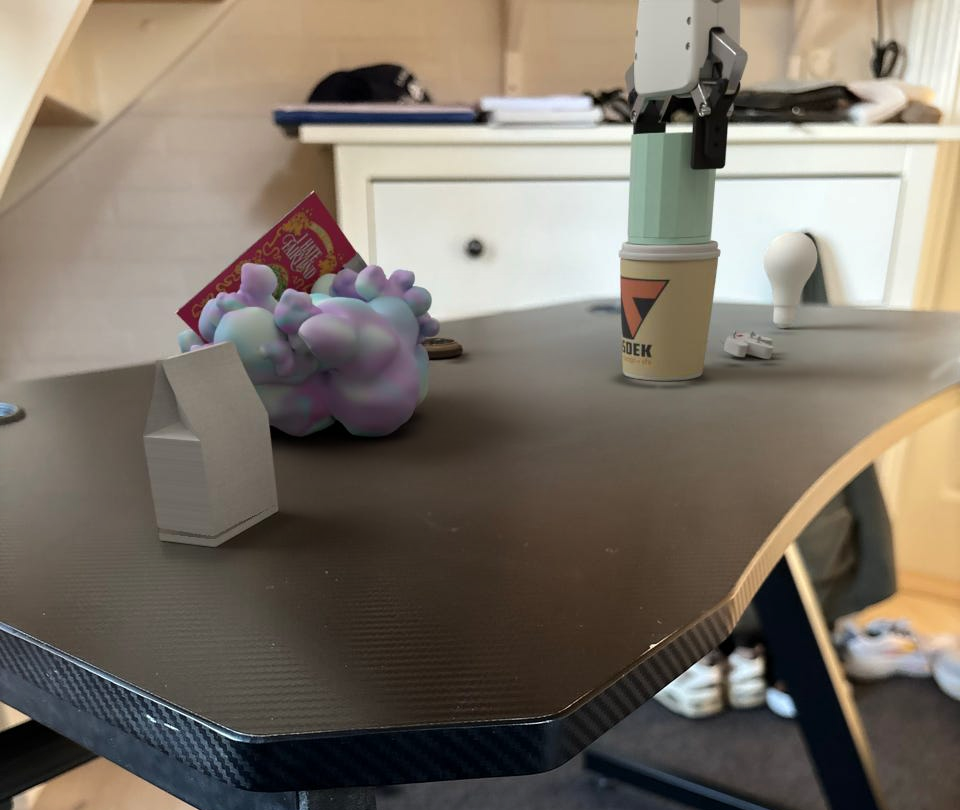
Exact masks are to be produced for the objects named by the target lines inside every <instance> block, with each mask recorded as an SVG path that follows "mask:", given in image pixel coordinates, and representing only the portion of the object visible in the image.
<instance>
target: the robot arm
mask: <svg viewBox="0 0 960 810" xmlns="http://www.w3.org/2000/svg"><path fill="white" fill-rule="evenodd" d="M637 7H638V8H637V17H636V29H635V40H634V59H633V62H632V63H631V65H630V66H629V67H628V69H627V70H626V71H625V74H624V80H625V85H626V89H627V94H628V95H627V103H628V106H629V108H630V111H631V112H630V115H629V116H630V117H629V118H630V122H631V123H632V135H633V134H648V133H667V122H666V121H665V122H664V121H663V120H662V119H663V117H664V115H665V113H666V110H667V108H668V105H669V103H670V101H671V98H672V96H674V97H676V98H679V99H683V98H684V99H685V98H692V100H693V104H694V105H695V107H696V110H697V113H698V116H693V117H692V131H691V132H692V147H691V168H692V169H693V170H701V169H716V170H722V169H724V168H725V167H726V163H727V161H726V160H727V147H728V146H727V145H728V132H729V131H728V129H729V117H731V116H732V115H733V113H734V109H735V107H734V106H735V104H734V102H735V100H736V98H737V97H738V94H739V92H740V90H741V81H742V78H743V75H744V72H745V69H746V66H747V63H748V61H749V60H748V59H749V55H748V52H747V51H746V50H745V49H744V48H743V47H741V45H740V43H741V0H638V6H637ZM653 101H655V102H653ZM662 121H663V122H662Z"/></svg>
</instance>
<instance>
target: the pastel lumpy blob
mask: <svg viewBox="0 0 960 810" xmlns="http://www.w3.org/2000/svg"><path fill="white" fill-rule="evenodd" d="M415 283H416V276H415V273H414V271H411V270H407V269H406V270H405V269H401V268H400V269H395V270H394V271H392V273H391V275H390V276H389V277H388V278H387V275H386V274H385V271H384V269H383V267H381V266H379V265H376V264H369V265H368V264H367V263H366V261H365V259H363V257H362V256H361V254H360V253H359V252H358V251H357V250H356V249H355V247H354V246H353V245H352V244H351V242H350V241H349V239H348V237H347V235H345V233H344V232H343V230H342V229H341V227H340V226H339V225H338V223H337V222H336V220H335V219H334V218H333V216H332V215H331V213H330V212H329V210H328V209H327V208H326V206H325V205H324V203H323V202H322V200H321V199H320V197H319V196H318V194H317V193H316V192H315V190H312V191H311V192H310V193H309V194H308V195H306V196H305V197H304V198H303V199H302V200H301V201H300V202H299V203H297V204H296V205H295V206H294V207H293V208H292V209H291V210H290V211H288V212H287V213H286V214H285V215H284V216H283V217H281V218H280V219H279V220H278V221H277V222H276V223H274V225H272V226H271V227H270V228H269V229H268V230H267V231H266V232H264V233H263V234H262V235H261V236H260V237H258V238H257V239H256V241H254V242H253V243H252V244H251V245H250V246H249V247H247V248H246V249H245V250H244V251H243V252H242V253H240V254H239V255H238V256H237V257H236V258H235V259H234V260H233V261H232V262H231V263H230V264H228V265H226V267H225V268H224V269H222V270H221V271H220V272H219V273H217V275H215V277H213V278H212V279H211V280H210V281H209V282H208V283H207V284H205V285H204V286H203V287H202V288H201V289H199V291H198V292H196V293H195V294H194V295H193V296H192V297H191V298H189V299H188V300H187V301H186V302H185V303H183V304H182V306H180V307H179V308H178V309H177V310H176V311H175V314H176V315H177V316H178V317H179V318H180V319H181V321H183V322H184V323H185V324H186V325H187V326H188V328H187V329H185V330H183V331H182V332H181V333H179V334H178V336H177V342H178V346H179V347H180V353H181V354H182V353H185V352H189V351H193V350H196V349H200V348H204V347H207V346H211V345H214V344H218V343H222V342H225V341H229V342H230V341H234V342H235V345H236V349H237V352H238V355H239V357H240V359H241V362H242V364H243V366H244V368H245V370H246V373H247V375H248V377H249V378H250V380H251V382H252V384H253V386H254V388H255V390H256V392H257V394H258V396H259V397H260V399H261V401H262V403H263V405H264V407H265V409H266V411H267V413H268V418H269V426H271V427H274V428H275V429H279V430H280V431H281V432H284V433H286V434H288V435H290V436H292V437H299V438H302V437H307V436H310V435H313V434H314V433H317V432H320V431H323V430H325V429H327V428H329V427H330V426H332V425H335V423H336V420H337V421H338V422H339V423H341V424H342V425H343V427H344V428H345V429H346V430H347V431H348V433H349V434H351V435H353V436H358V437H368V438H375V437H376V438H377V437H387V436H388V435H390V434H392V433H394V432H396V431H398V429H399V428H400V427H401V426H402V425H403V424H405V423H407V422H408V421H409V420H410V419H411V418H412V416H413V414H414V411H415V409H416V408H417V407H418V406H419V405H420V404H422V403H423V401H424V400H425V398H426V397H427V396H428V391H429V382H430V369H429V363H430V358H429V357H428V353H427V351H426V350H425V348H424V347H423V346H422V345H421V344H420V343H422V342H423V341H424V340H425V339H427V338H434V337H436V336H438V334H439V333H440V331H441V323H440V321H439V320H438V318H437V319H436V318H435V317H432V316H431V314H430V313H429V310H430V309H431V306H432V303H433V298H432V294H431V293H430V291H429V290H428V289H426V287H421V286H419V285H414V284H415Z"/></svg>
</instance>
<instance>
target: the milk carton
mask: <svg viewBox="0 0 960 810" xmlns="http://www.w3.org/2000/svg"><path fill="white" fill-rule="evenodd" d="M142 440H143V446H144V452H145V459H146V464H147V465H146V466H147V471H148V476H149V483H150V490H151V495H152V502H153V508H154V514H155V519H156V526H157V528H158V527H159V528H162V529H163V528H164V529H170V530H175V531H183V532H188V533H189V532H190V533H193V534H195V533H196V534H201V535H207V536H208V535H210V536H215V535H217V534H219V533H220V532H222V531H225V530H226V529H228V528H230V527H232V526H234V525H235V524H238V523H239V522H241V521H244V520H246V519H248V518H250V517H252V516H254V515H257V514H259V513H260V512H262V513H260V514H259V515H257V516H255V517H253V518H252V519H250V520H248V521H246V522H245V523H243V524H241V525H239V526H237V527H236V528H234V529H232V530H230V531H229V532H227V533H225V534H223V535H221V536H220V537H218V538H216V539H205V538H197V537H188V536H180V535H171V534H163V533H158V538H159V541H163V542H171V543H177V544H186V545H194V546H202V547H212V548H216V547H218V546H220V545H222V544H223V543H225V542H227V541H229V540H231V539H232V538H234V537H236V536H238V535H239V534H241V533H242V532H244V531H246V530H248V529H249V528H251V527H253V526H255V525H256V524H258V523H260V522H261V521H263V520H266V519H267V518H269V517H271V516H272V515H273V514H275V513H277V512H279V502H278V493H277V485H276V484H277V483H276V475H275V465H274V456H273V448H272V447H273V446H272V438H271V429H270V425H269V418H268V413H267V411H266V409H265V407H264V405H263V403H262V401H261V399H260V397H259V396H258V394H257V392H256V390H255V388H254V386H253V384H252V382H251V380H250V378H249V377H248V375H247V373H246V370H245V368H244V366H243V364H242V362H241V359H240V357H239V355H238V352H237V349H236V345H235V342H234V341H230V342H229V341H225V342H222V343H218V344H214V345H211V346H207V347H204V348H200V349H196V350H193V351H189V352H185V353H182V352H181V353H178V354H175V355H171V356H168V357H167V356H166V357H165V358H161V359H157V360H155V377H154V383H153V390H152V397H151V401H150V404H149V409H148V413H147V417H146V422H145V426H144V430H143V435H142ZM274 505H275V506H274ZM272 506H273V507H272ZM267 509H268V510H267ZM265 510H266V511H265ZM263 511H264V512H263Z"/></svg>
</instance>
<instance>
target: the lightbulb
mask: <svg viewBox="0 0 960 810" xmlns="http://www.w3.org/2000/svg"><path fill="white" fill-rule="evenodd" d="M817 263H818V250H817V247H816V245H815V243H814V241H813V239H812V238H810V237H809V236H808V235H806V234H805V233H803V232H799V231H787V232H783V233H782V234H780V235H777V236H776V237H775V238H774V239H773V240H772V241H771V242H770V243H769V244H768V245H767V248H766V250H765V253H764V256H763V265H764V266H763V268H764V271H765V273H766V276H767V279H768V281H769V283H770V287H771V288H770V289H771V294H772V301H771V303H772V306H773V317H772V319H773V320H772V322H773V324H775V325H777V326H778V328H780V329H786V328H787V329H788V327H789V326H791V325H793V324H794V323H795V319H796V315H797V309H798V306H799V305H800V301H801V297H802V293H803V290H804V287H805V286H806V284H807V282H808V280H809V279H810V277H811V276H812V275H813V273H814V271H815V269H816V267H817Z"/></svg>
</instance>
